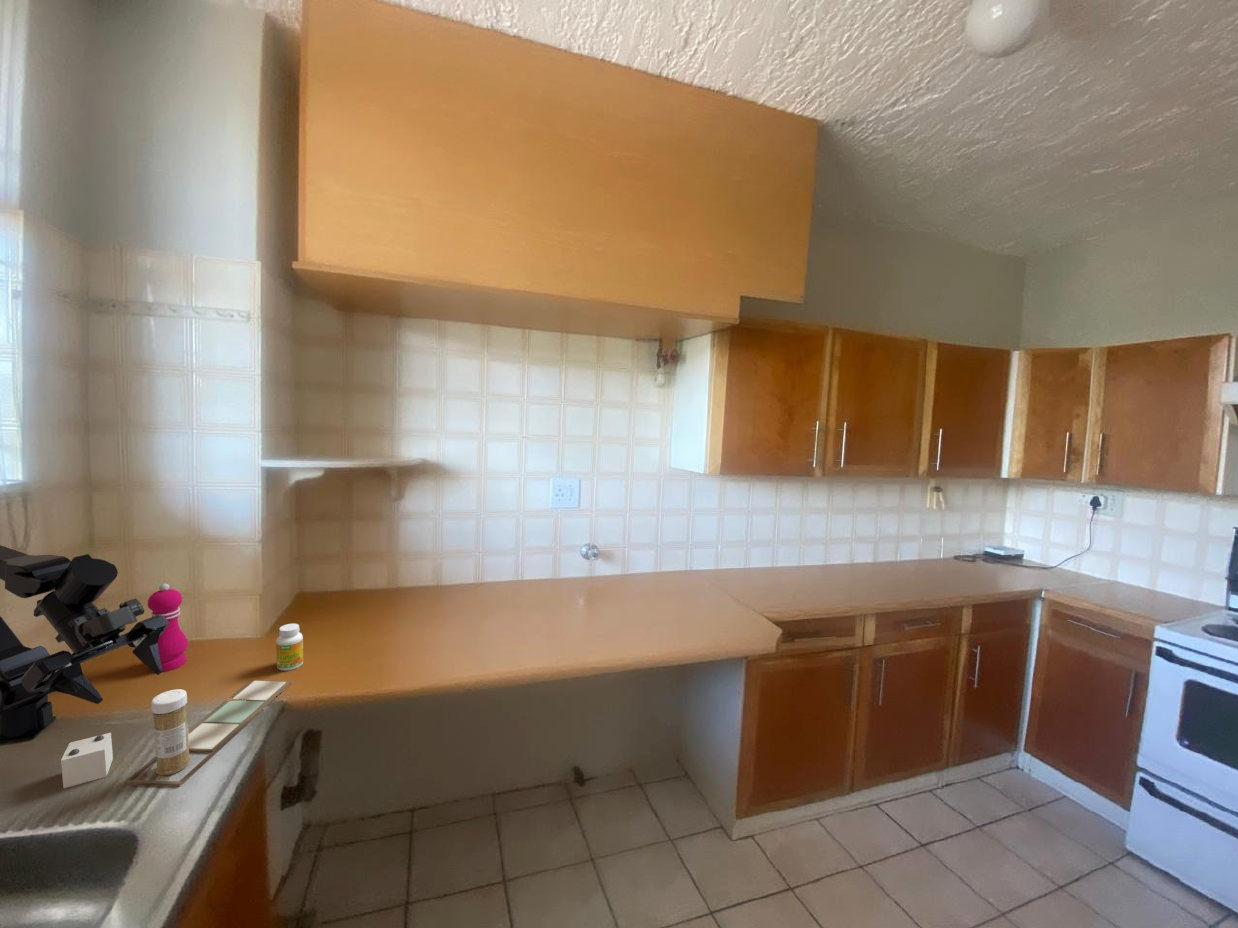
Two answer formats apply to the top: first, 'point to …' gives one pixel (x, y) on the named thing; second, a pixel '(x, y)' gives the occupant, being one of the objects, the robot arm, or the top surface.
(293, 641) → the supplement bottle
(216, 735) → the game board
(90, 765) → the die
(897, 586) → the top surface
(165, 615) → the pepper mill
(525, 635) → the top surface
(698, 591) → the top surface
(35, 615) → the robot arm
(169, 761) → the tan spice jar
